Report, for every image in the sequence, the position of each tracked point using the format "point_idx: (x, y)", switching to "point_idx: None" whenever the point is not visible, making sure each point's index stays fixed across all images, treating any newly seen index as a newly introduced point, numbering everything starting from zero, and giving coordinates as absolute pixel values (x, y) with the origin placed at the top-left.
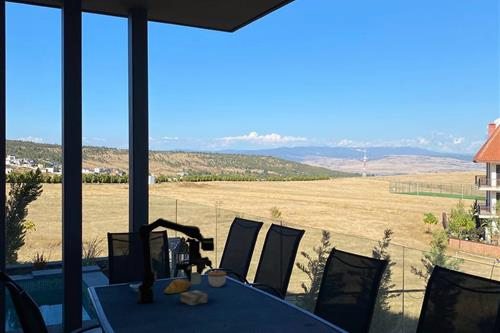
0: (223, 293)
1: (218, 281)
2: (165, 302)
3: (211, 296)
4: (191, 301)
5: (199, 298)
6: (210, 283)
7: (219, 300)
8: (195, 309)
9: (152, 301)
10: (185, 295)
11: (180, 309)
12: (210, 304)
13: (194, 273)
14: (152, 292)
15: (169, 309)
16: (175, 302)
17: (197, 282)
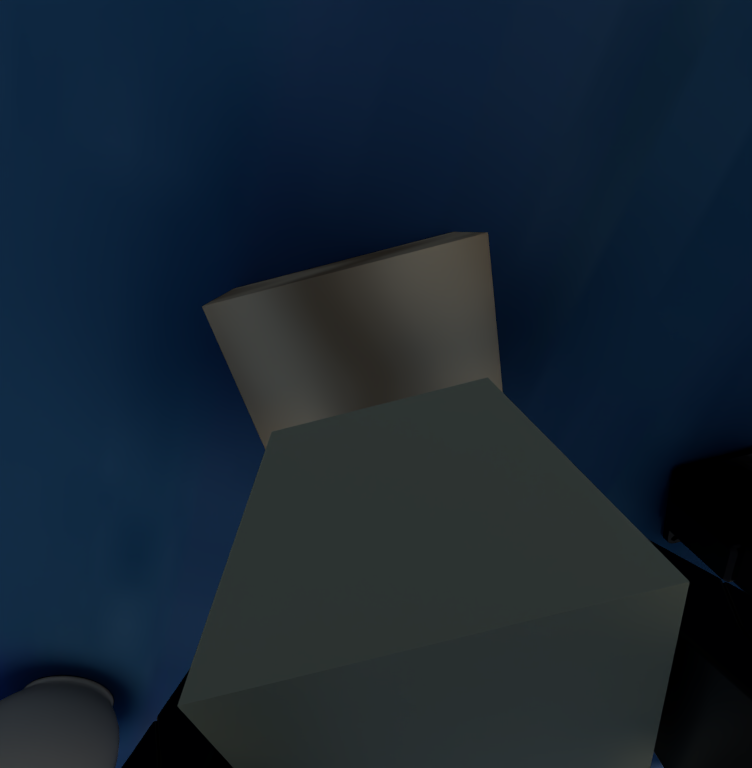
0: (13, 522)
1: (13, 729)
2: (607, 424)
3: (154, 467)
4: (455, 235)
5: (339, 266)
6: (112, 722)
7: (74, 299)
8: (468, 5)
9: (689, 465)
10: (499, 369)
11: (621, 112)
12: (215, 167)
13: (450, 761)
14: (738, 542)
15: (711, 174)
16: (537, 395)
17: (357, 428)
